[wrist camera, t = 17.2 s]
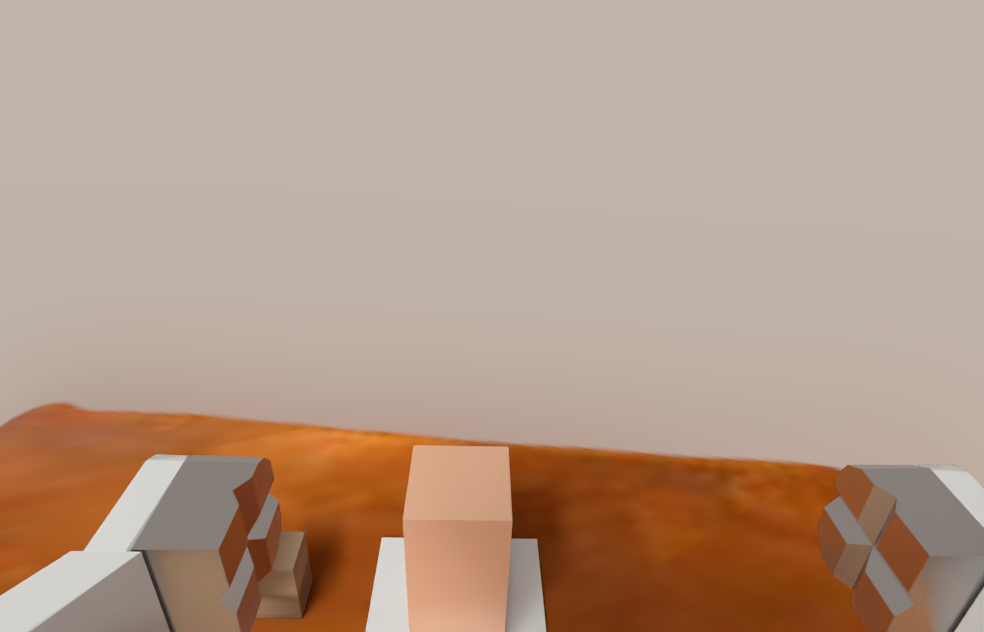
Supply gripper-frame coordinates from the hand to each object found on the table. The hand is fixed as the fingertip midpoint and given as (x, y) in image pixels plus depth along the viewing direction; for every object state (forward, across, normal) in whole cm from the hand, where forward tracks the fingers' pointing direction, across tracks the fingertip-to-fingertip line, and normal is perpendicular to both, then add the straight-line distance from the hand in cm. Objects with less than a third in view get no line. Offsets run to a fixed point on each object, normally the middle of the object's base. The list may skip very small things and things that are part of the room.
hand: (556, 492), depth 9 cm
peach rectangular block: (+20, +2, +32) cm, 37 cm away
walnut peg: (+21, +14, +32) cm, 41 cm away
